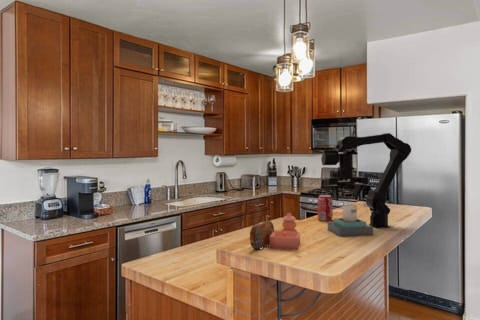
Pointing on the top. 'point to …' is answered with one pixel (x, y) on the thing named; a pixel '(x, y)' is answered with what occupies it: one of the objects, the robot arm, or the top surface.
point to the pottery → (286, 235)
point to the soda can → (325, 208)
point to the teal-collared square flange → (350, 228)
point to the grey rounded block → (349, 213)
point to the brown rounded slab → (261, 234)
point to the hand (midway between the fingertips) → (346, 200)
